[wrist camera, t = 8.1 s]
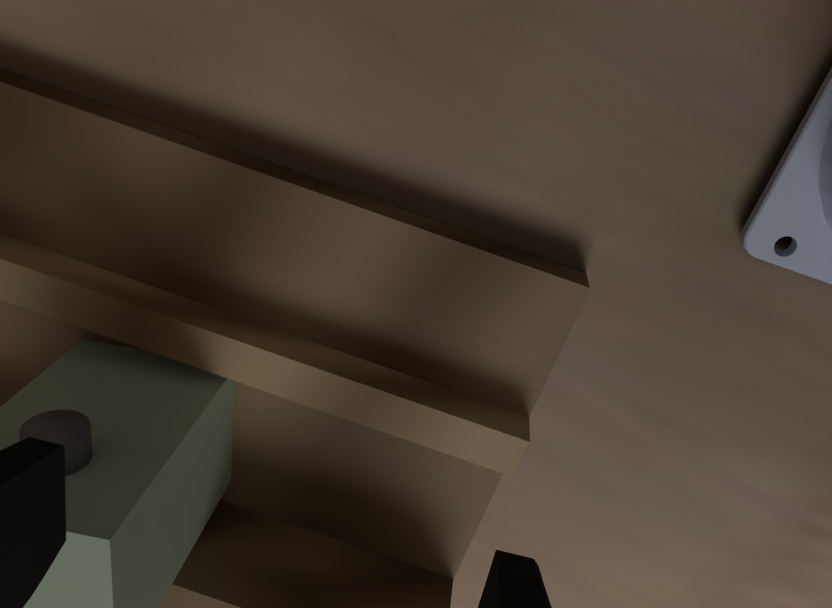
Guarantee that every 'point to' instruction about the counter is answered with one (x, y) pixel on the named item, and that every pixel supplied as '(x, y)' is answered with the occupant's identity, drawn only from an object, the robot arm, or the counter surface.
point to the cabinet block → (126, 468)
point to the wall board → (283, 344)
